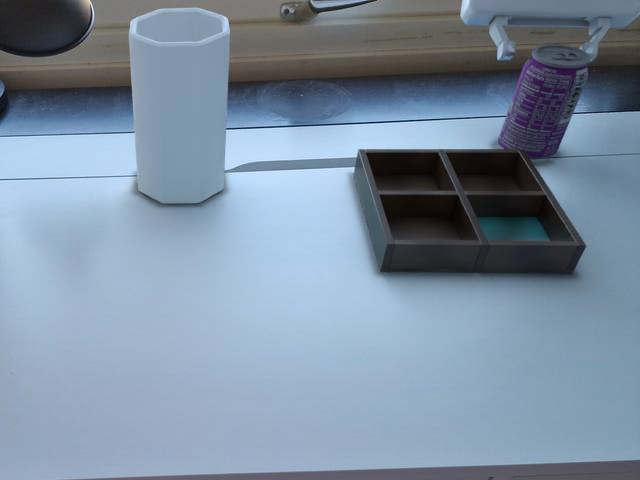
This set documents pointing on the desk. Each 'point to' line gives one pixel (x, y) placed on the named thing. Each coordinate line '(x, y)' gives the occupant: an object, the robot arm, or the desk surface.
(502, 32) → the robot arm
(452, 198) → the grid
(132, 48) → the cup
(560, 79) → the beverage can
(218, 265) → the desk surface
